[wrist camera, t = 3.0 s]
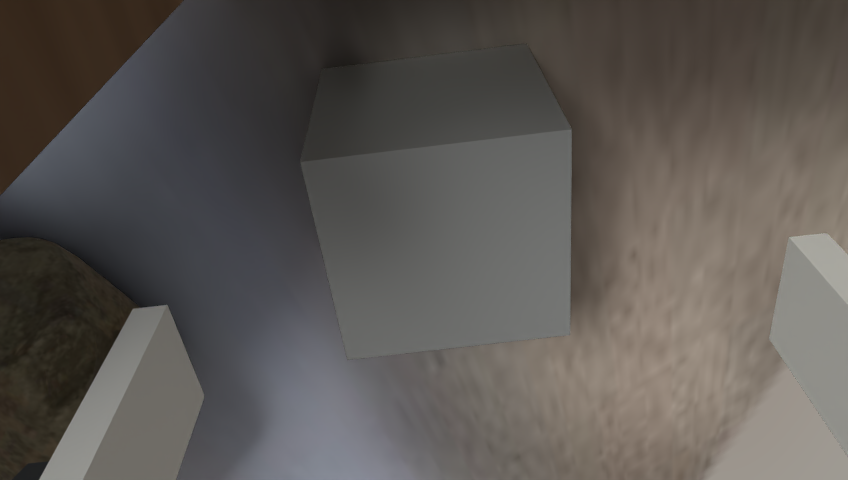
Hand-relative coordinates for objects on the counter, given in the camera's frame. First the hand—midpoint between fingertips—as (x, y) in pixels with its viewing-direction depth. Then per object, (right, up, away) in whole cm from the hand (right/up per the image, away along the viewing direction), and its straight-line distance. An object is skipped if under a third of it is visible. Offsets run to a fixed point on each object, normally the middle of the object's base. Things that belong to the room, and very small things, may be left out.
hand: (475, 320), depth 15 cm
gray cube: (-1, +5, +7) cm, 8 cm away
